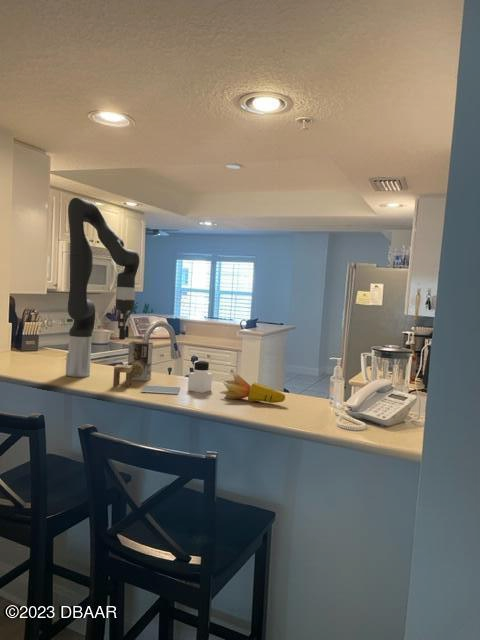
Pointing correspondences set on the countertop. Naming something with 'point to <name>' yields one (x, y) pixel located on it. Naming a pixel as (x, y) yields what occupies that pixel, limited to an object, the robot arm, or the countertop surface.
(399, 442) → the countertop surface
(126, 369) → the stool
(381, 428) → the countertop surface
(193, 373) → the medicine bottle
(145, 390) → the mat
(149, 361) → the coffee box
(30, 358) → the countertop surface
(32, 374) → the countertop surface
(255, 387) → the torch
